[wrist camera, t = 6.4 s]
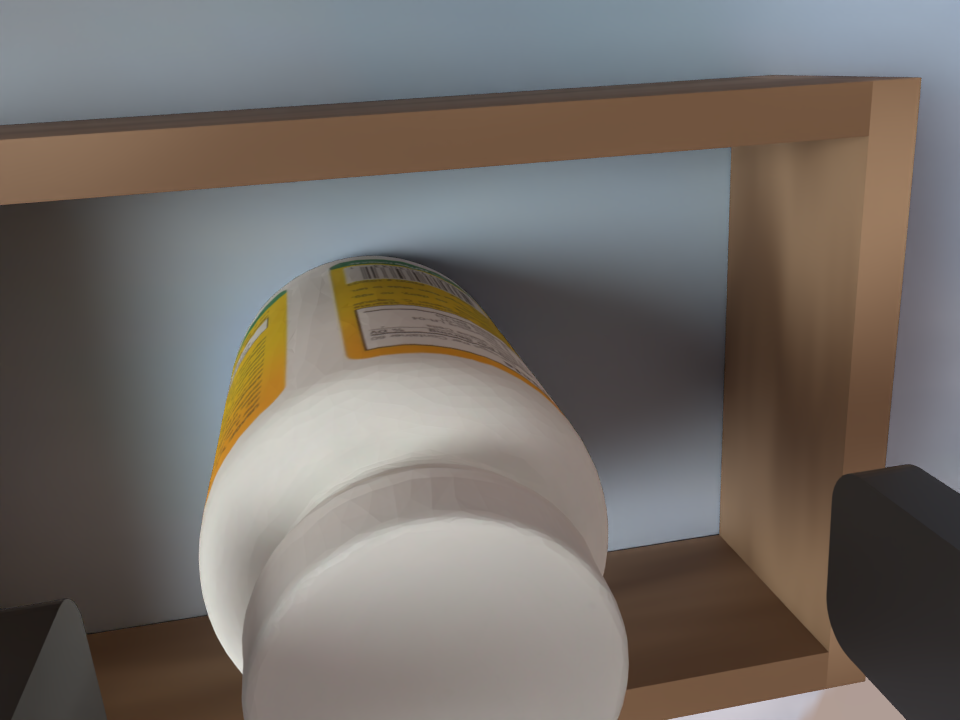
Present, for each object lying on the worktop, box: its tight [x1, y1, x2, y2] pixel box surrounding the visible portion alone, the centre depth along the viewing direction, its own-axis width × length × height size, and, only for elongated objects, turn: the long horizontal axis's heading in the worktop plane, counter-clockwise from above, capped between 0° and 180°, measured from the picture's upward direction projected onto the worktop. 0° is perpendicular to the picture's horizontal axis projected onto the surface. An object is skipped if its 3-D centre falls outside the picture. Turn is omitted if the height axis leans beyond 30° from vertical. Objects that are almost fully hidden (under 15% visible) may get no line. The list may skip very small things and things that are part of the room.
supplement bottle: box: [199, 256, 629, 720], centre depth 14 cm, size 5×5×10 cm
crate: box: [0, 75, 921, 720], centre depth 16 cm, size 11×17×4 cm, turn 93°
